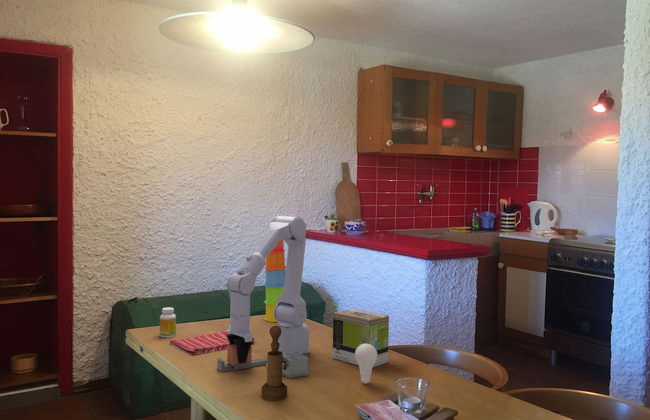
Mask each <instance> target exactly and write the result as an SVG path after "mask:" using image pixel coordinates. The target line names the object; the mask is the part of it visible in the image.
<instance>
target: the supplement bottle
mask: <svg viewBox="0 0 650 420" xmlns="http://www.w3.org/2000/svg"><path fill="white" fill-rule="evenodd" d="M174 312H175V309H174V307H169V306H168V307H163V308H162V309H161V315H160V316H159V337H161V338H166V339H167V338H168V339H169V338H174V337H175V336H176V331H177V321H176V319H177V317H176V316H177V315H176V314H175V313H174Z"/></svg>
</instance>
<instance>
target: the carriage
mask: <svg viewBox="0 0 650 420" xmlns="http://www.w3.org/2000/svg"><path fill="white" fill-rule="evenodd" d="M252 349H253V345H251V347H250V350H249V353H248V357H247V360H246V362H245V363H239V362H238V356H237V349H236V345H235V344H234V345H228V349H226V350H227V354H226V357H227V360H226V361H227V363H229V364H230V365H232V366H233V370H232V371H236V370H242V369H243V370H244V369H250V368H251V367H250V363H251V362H252V360H253V359H252V357H253V356H252V353H253V351H252Z"/></svg>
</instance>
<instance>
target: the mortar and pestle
mask: <svg viewBox="0 0 650 420" xmlns="http://www.w3.org/2000/svg"><path fill="white" fill-rule="evenodd" d="M269 335H270V337H271V338H272V342H271V343H270V349H271V350H269V351H268V352H267V357H266V358H267V369H266V382H265V383H264V384H263V385H262V386H261V390H260V391H261V392H260V396H261V398H262V399H264V400H267V401H281V400H284V399H286V398H287V397H288V386H287V385H286V384H285V383H284V382H283V374H282V361H283V353H282V352H281V351H278V350H279V346H280V344H279V337H280V335H281V328H280V327H279V325H273V326H271V327H270V329H269Z"/></svg>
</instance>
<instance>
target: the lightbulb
mask: <svg viewBox="0 0 650 420" xmlns="http://www.w3.org/2000/svg"><path fill="white" fill-rule="evenodd" d="M355 358H356V361H357V363H358V365H357V366H358V367H359V373H360V381H361V383H362V384H364V385H365V384H366V385H367V384H368V383H370V382H371V376H372V371H373V368H374V367H373V365H374V363H375V362H376V360H377V351H376V349H375V348H374V347H373V346H372V345H370V344H362V345H360V346H359V347H358V348H357V349H356V351H355ZM372 367H373V368H372Z"/></svg>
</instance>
